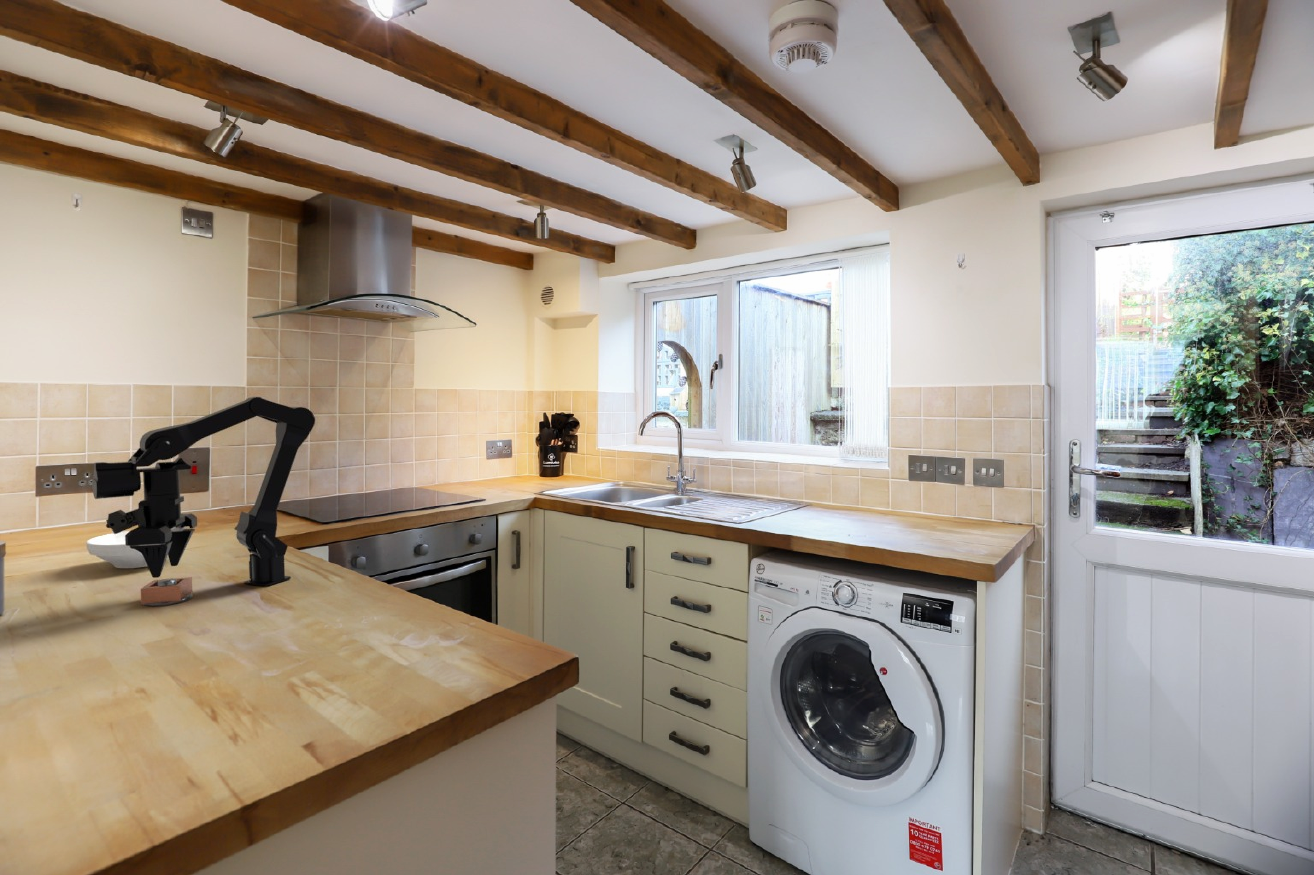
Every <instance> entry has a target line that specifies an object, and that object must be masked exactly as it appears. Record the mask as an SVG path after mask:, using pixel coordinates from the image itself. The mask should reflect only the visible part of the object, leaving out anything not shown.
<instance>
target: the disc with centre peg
mask: <svg viewBox="0 0 1314 875" xmlns="http://www.w3.org/2000/svg"><path fill="white" fill-rule="evenodd" d="M158 580H159V581H158V586H168V585H177V580H176V579H175V578H174V577H170V578H165V579H163V580H161V579H158ZM193 595H194V594H193V593H192V592H191V593H190V594H189V595H188V596H186V597H185V598H184V599H183V600H181V601H172V602H161V603H149V604H142V606H144V607H165V606H171V605H176V604H180V603H183V602H187V601H189V600H191V599H193Z"/></svg>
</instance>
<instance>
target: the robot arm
mask: <svg viewBox="0 0 1314 875" xmlns="http://www.w3.org/2000/svg"><path fill="white" fill-rule="evenodd" d="M256 417H258V418H261V419H264V420H266V421H268V422H272V423H275V424H276V425H275V426H276V427H275V446H274V448H273V452H272V455H271V457H270V460H269V463H268V466H267V468H266V471H265V474H264V477H263V480H262V482H261V485H260V489H259V491H258V495H257V498H256V500H255V503H254V505H253V506H252V508H250V510H249V511H248V512H246V511H240V514H239V519H238V522H237V525H236V526H235V527H234V528H233V529H234V530H235V531H236V534H235V537H236V539H237V541H238V543H239V544H241V545H242V546H244V548H246V549H247V551H248V552H249V553H250V554H249V561H248V570H249V571H248V572H249V574H248V575H249V579H248V580H245V581H244V583H243V584H244V585H249V586H250V585H251V586H260V587H269V586H273V585H275V584H278V583H281V582H285V581H288V580H291V576H290V575H286V574H285V569H286V568H285V555H286V552H287V550H288V548H289V547H288V545H287V543H285V542H283V541H282V540H280V539H279V538H278V537H277V528H278V508H279V505H280V503H281V500H282V496H283V494H284V491H285V487H286V484H287V482H288V479H289V476H290V473H291V470H292V467H293V464H294V461H295V459H296V456H297V452H298V451H299V448H300V447H302V445H303V443H304V442H305V441H306V440H307V439H308V437H309V435H310V434H311V432H312V430H313V428H314V426H315V424H316V417H315V415H314V414H313V412H312V411H311V409H309V408H306V407H304V406H303V407H302V406H287V405H285V404H281V403H276V402H274V401H270V400H268V399H265V398H264V397H262V396H251V397H247V398H246V399H245V400H243V401H240V402H237V403H235V404H233V405H230V406H227V407H225V408H222V409H220V410H217V411H215V412H213V413H209V414H207V415H204V416H202V417H199V418H197V419H194V420H191V421H189V422H185V423H181V424H175V425H171V426H170V425H169V426H165V427H160V428H156V429H152V430H149V431H147V432H145V433H144V434H143V435H142V436H141V437H140V440H139V448H138V449H137V450H136V451H135V452H134V453H133V455H131V456H130V458H129V459H128V460H127V461H119V462H116V461H115V462H107V461H106V462H105V461H104V462H103V461H102V462H101V461H99V462H94V463H93V467H94V468H93V474H92V475H93V478H92V479H91V487H92V493H93V497H94V499H95V500H99V499H112V498H123V497H124V498H125V497H126V498H127V497H133V496H134V495H135V492H139V491H140V490H141V489H142V482H143V499H142V500H140V501H139V502H138V504H137V505H138V506H137V507H138V508H136V509H133V510H130V511H128V512H125V511H123V509H118V510H116V511H113V512H110V513H108V515H107V519H106V520H105V522H106V525H105V527H106V528H108V529H110V530H111V531H112V532H113V533H114V534H117V533H120V532H125V531H128V530H129V529H131V530H129V531H130V532H128V533H127V534H126V535H125V544H126V546H129V547H130V548H131V549H135V550H137V551H139V552H141V553H142V555H143V557H144V559H145V561H146V563H147V566H146V567H147V568H148V571H149V573H150V574H151V577H152V578H154V579H155V578H161V574H162V572H163V570H164V567H165V564H166V562H167V559H168V560H169V565H170V566H171V567H177V566H178V565H179V563H180V561H181V559H182V556H184V555H183V554H184V552H185V550H186V548H187V545H189V541H190V540H191V538H192V535H193V533H194V532H195V530H196V529H195V528H196V527H198V516H196V515H195V514H194V513H182V507H181V506H182V505H181V503H184V501H185V496H183V495H182V496H181V486H180V485H181V484H180V481H181V480H180V479H181V478H180V471H182V470H183V471H184V470H185V471H186V470H191V469H192V466H191V465H190V464H189V463H187V462H185V460H184V459H183V458H182V457H180V456H179V457H177V458H176V459H175V460H173V461H167V460H171V459H173V458H175V457H176V456H178V455H180V454H181V453H183V452H184V451H186V450H187V449H189V448H191V447H192V446H193V445H194V444H196V443H198V442H200V441H201V440H203V439H204V438H205V439H206V438H207V437H209V436H212V435H214V434H216V433H219V432H222V431H224V430H227V429H228V428H229V429H230V428H231V427H234V426H236V425H238V424H241V423H244V422H246V421H248V420H251V419H253V418H256ZM153 464H155V465H154V467H150V466H151V465H153ZM141 467H142V468H141ZM141 473H142V478H143V481H142V478H141ZM136 526H137V527H136ZM133 527H135V528H133ZM188 527H189V528H188ZM132 528H133V529H132ZM167 555H168V556H169V557H168V558H167ZM166 558H167V559H166Z"/></svg>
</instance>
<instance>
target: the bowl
mask: <svg viewBox="0 0 1314 875" xmlns="http://www.w3.org/2000/svg"><path fill="white" fill-rule="evenodd" d="M130 531H131V530H124V531H122V532H120V533H117V534H114V532H113V533H112V532H111V533H108V534H104V535H99V536H95V537H92V538H90V539H88V540H86V542H85V543H86V549H87V552H88V554H89V555H91V556H96V557H97V558H99V559H101V560H103V561H105V562H107V563H110V564H111V565H113V567H115V568H117V569H135V568H137V569H138V568H145V567H146V568H147V567H148V566H147V563H146V561H145V559H144V557H143V555H142V553H141V552H139V551H137V550H135V549H131V548H130V547H129V546H126V544H125V535H126V534H127V533H128V532H130ZM167 559H169V556H168V555H167V558H166V560H167Z"/></svg>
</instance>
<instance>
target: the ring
mask: <svg viewBox="0 0 1314 875" xmlns="http://www.w3.org/2000/svg"><path fill="white" fill-rule="evenodd" d="M175 579H176V580H177V585H168V586H158V581H159V580H163V579H162V578H161V579H153V580H152V581H150V582H149V583H147V584H145V585H144V586H142V587H141V588H140V602H141V603H140V604H141V605H143V604H149V603H161V602H172V601H181V600H183V599H184V598H185V597H186V596H188V595H189V594H190V593H192V592H193V577H192V576H191V577H189V576H188V577H178V578H175Z"/></svg>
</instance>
